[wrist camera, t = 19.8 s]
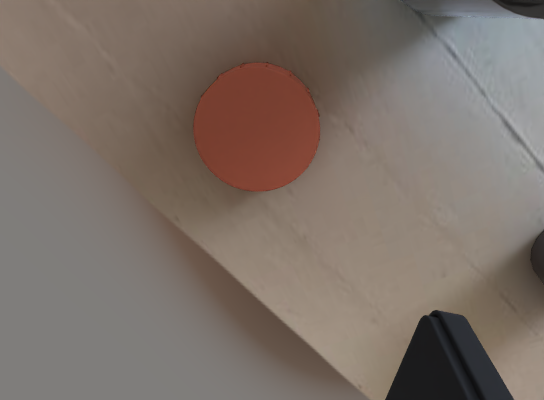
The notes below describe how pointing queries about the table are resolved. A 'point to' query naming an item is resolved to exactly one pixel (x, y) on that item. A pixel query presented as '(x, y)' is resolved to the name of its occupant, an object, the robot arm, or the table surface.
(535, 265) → the coffee cup
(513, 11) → the thermos
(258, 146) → the lid
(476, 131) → the table surface
